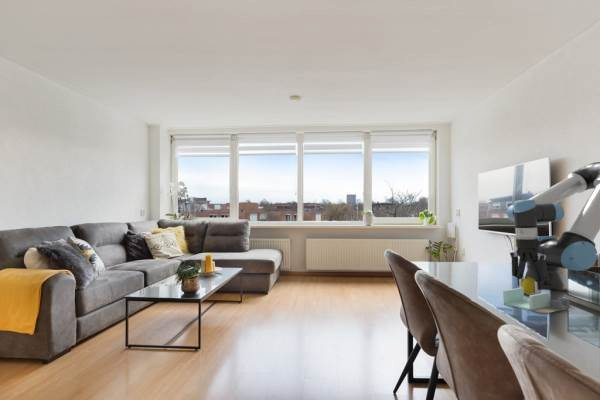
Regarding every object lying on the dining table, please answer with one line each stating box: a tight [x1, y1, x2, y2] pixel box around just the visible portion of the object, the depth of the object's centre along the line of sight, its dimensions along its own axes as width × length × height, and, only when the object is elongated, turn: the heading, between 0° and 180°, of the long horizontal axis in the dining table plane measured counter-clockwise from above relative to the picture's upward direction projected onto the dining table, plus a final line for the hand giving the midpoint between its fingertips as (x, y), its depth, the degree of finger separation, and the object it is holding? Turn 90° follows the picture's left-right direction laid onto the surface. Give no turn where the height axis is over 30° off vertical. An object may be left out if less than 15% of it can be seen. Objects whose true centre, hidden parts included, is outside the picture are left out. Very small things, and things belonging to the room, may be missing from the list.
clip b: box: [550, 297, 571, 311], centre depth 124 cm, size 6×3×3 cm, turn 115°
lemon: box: [522, 277, 535, 297], centre depth 142 cm, size 6×6×8 cm
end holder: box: [502, 286, 551, 312], centre depth 128 cm, size 10×10×5 cm
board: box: [516, 305, 575, 315], centre depth 127 cm, size 17×14×1 cm
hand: (530, 296), depth 142 cm, fingers closed on lemon, 5 cm apart
